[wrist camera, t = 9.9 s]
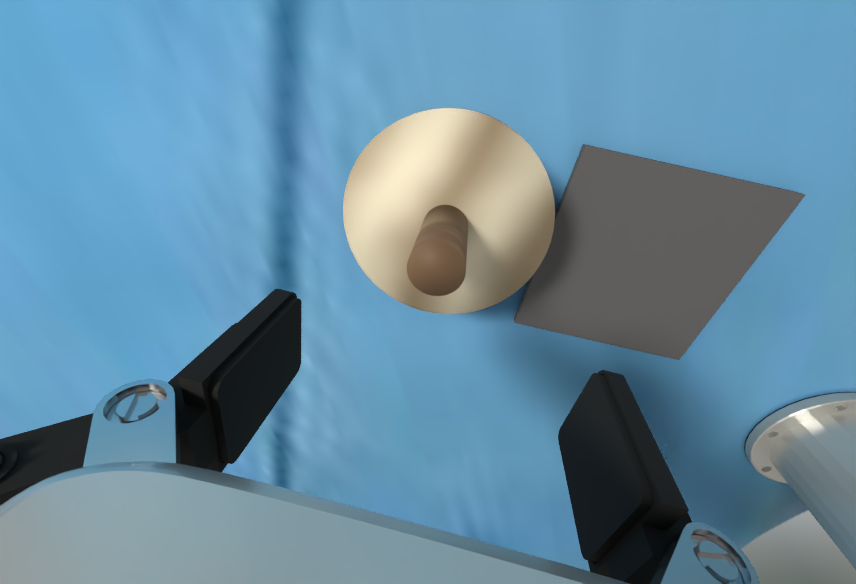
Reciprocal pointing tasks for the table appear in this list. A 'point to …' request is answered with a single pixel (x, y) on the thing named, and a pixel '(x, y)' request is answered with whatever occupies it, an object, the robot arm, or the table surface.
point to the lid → (449, 211)
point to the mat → (648, 251)
